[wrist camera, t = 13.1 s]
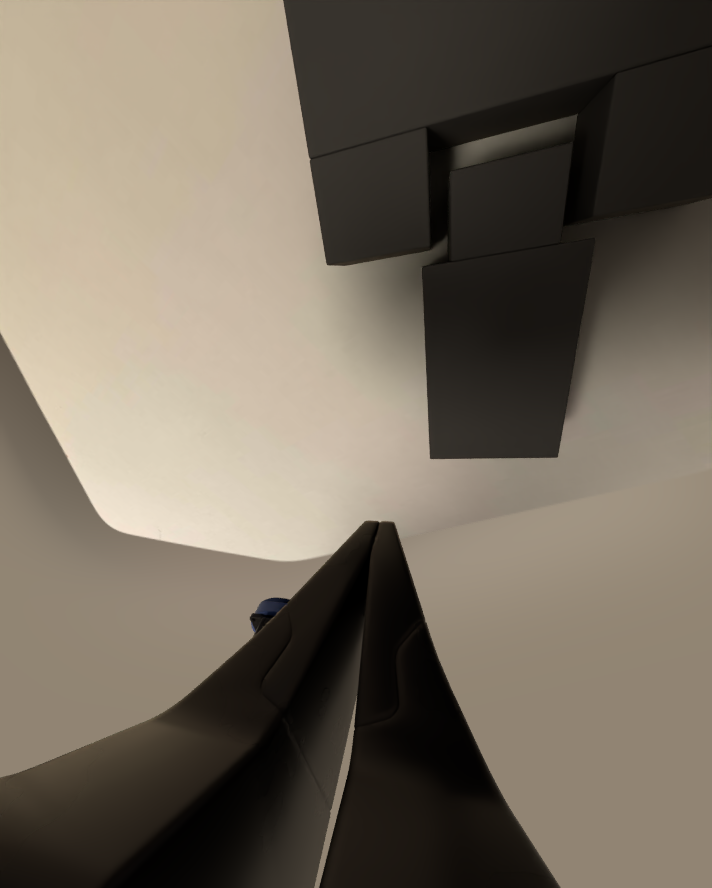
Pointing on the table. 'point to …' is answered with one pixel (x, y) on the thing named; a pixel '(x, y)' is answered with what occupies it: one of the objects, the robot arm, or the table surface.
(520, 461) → the table surface
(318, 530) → the table surface
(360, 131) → the large black pad
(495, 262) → the small black block
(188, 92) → the table surface
